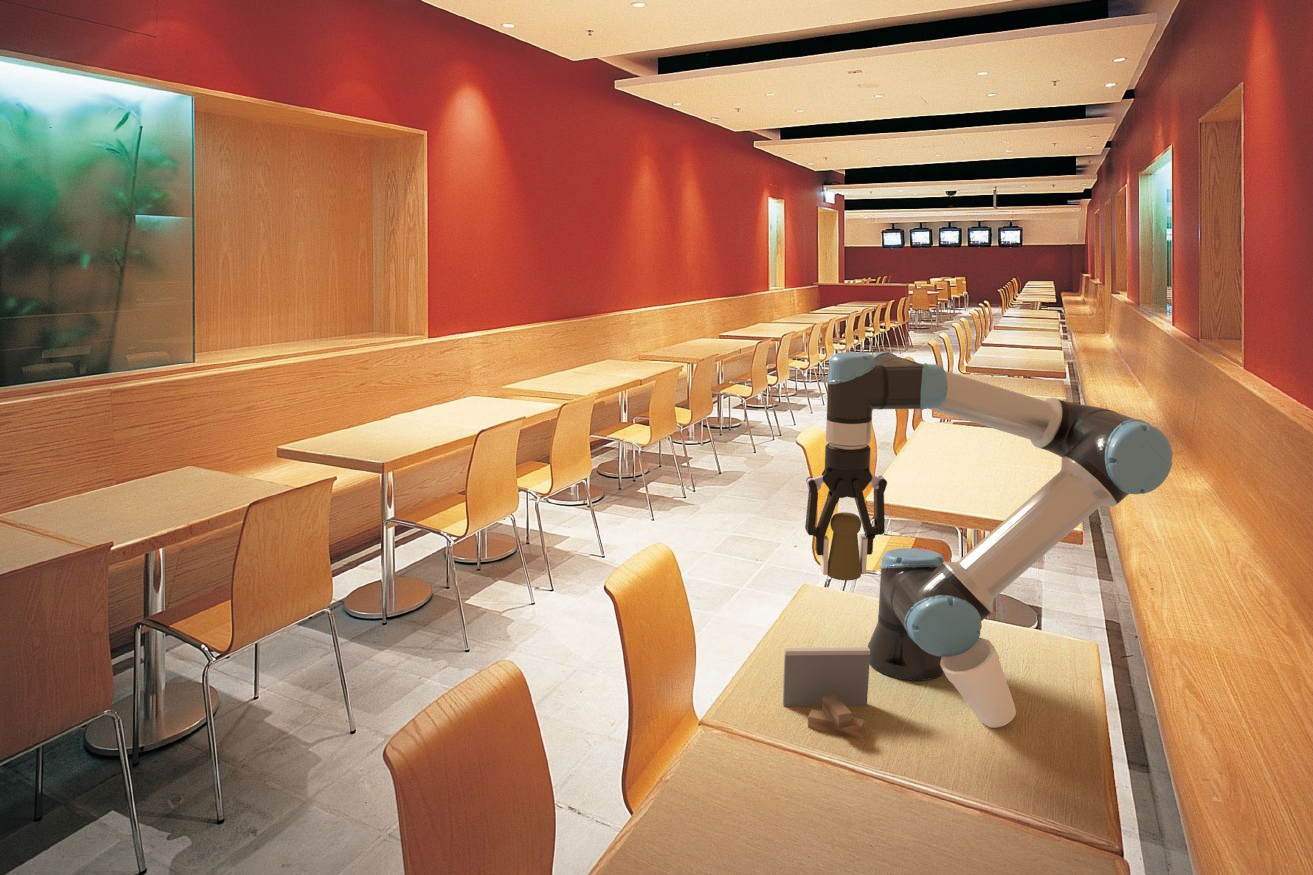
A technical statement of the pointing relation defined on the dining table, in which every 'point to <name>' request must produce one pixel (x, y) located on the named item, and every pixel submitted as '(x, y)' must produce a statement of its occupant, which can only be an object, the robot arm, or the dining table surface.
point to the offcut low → (825, 724)
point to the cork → (844, 547)
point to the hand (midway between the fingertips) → (843, 571)
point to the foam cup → (981, 683)
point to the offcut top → (836, 711)
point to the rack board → (826, 675)
